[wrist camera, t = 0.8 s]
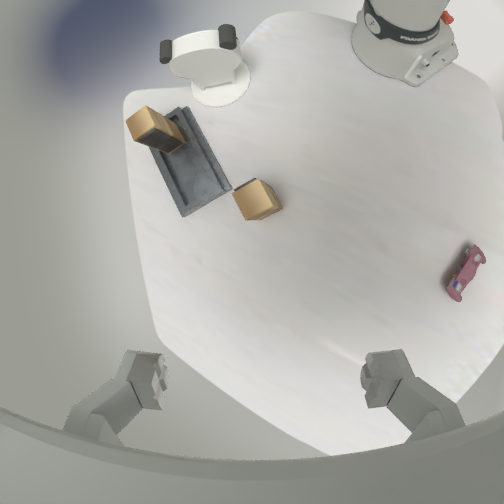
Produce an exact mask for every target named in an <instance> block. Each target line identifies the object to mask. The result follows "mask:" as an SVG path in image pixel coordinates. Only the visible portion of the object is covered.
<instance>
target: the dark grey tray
mask: <svg viewBox="0 0 504 504" xmlns="http://www.w3.org/2000/svg"><path fill="white" fill-rule="evenodd" d="M164 117H166V118H168V119H169V120H171V121H172V122H174V123H176V124H177V125H179V127H180V129H181V131H182V133H183V135H184V137H185V139H186V141H187V143H185V144H184V145H182V146H181V147H179V148H178V149H176V150H175V151H173V152H172V153H170V154H167V153H165V152H162V151H160V150H157V149H154V148H152V147H149V148H150V150H151V153H152V155H153V157H154V159H155V161H156V163H157V166H158V168H159V170H160V172H161V174H162V176H163V178H164V180H165V183H166V185H167V187H168V189H169V191H170V193H171V195H172V197H173V199H174V201H175V203H176V205H177V207H178V210H179V212H180V214H181V216H182V217H186V216H187V215H189V214H191V213H192V212H194V211H196V210H197V209H199V208H201V207H202V206H204V205H206V204H207V203H209V202H211V201H212V200H214V199H216V198H218V197H219V196H221V195H223V194H224V193H226V192H228V191H230V190H231V189H232V188H231V186H230V184H229V182H228V180H227V179H226V177H225V175H224V173H223V171H222V169H221V167H220V165H219V163H218V162H217V160H216V158H215V156H214V154H213V152H212V150H211V148H210V147H209V145H208V143H207V141H206V139H205V137H204V135H203V133H202V132H201V130H200V128H199V126H198V124H197V122H196V120H195V119H194V117H193V115H192V113H191V111H190V109H189V108H188V107H187V106H186V107H185V108H183V109H181V108H180V107H178V108H176V109H175V110H173V111H172V112H170V113H169V114H167V115H166V116H164Z"/></svg>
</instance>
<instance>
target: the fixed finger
mask: <svg viewBox="0 0 504 504" xmlns="http://www.w3.org/2000/svg"><path fill="white" fill-rule="evenodd" d="M126 123H127V126H128V128H129V130H130V133H131V135H132V137H133V140H134V141H136V142H139V143H141V144H144V145H147V146H149V147H152V148H154V149H157V150H160V151H162V152H165V153H167V154H170V153H172V152H173V151H175V150H176V149H178V148H179V147H181V146H182V145H184V144H185V143H187V141H186V139H185V137H184V135H183V133H182V131H181V129H180V127H179V125H177V124H176V123H174V122H172V121H171V120H169V119H168V118H166V117H164V116H163V115H161V114H159V113H158V112H156V111H154V110H153V109H151V108H149V107H148V106H146V105H145V106H144V107H143V108H141V109H140V110H139V111H137V112H136V113H135V114H133V115H132V116H131V117H130V118H128V119H127V120H126Z"/></svg>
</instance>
